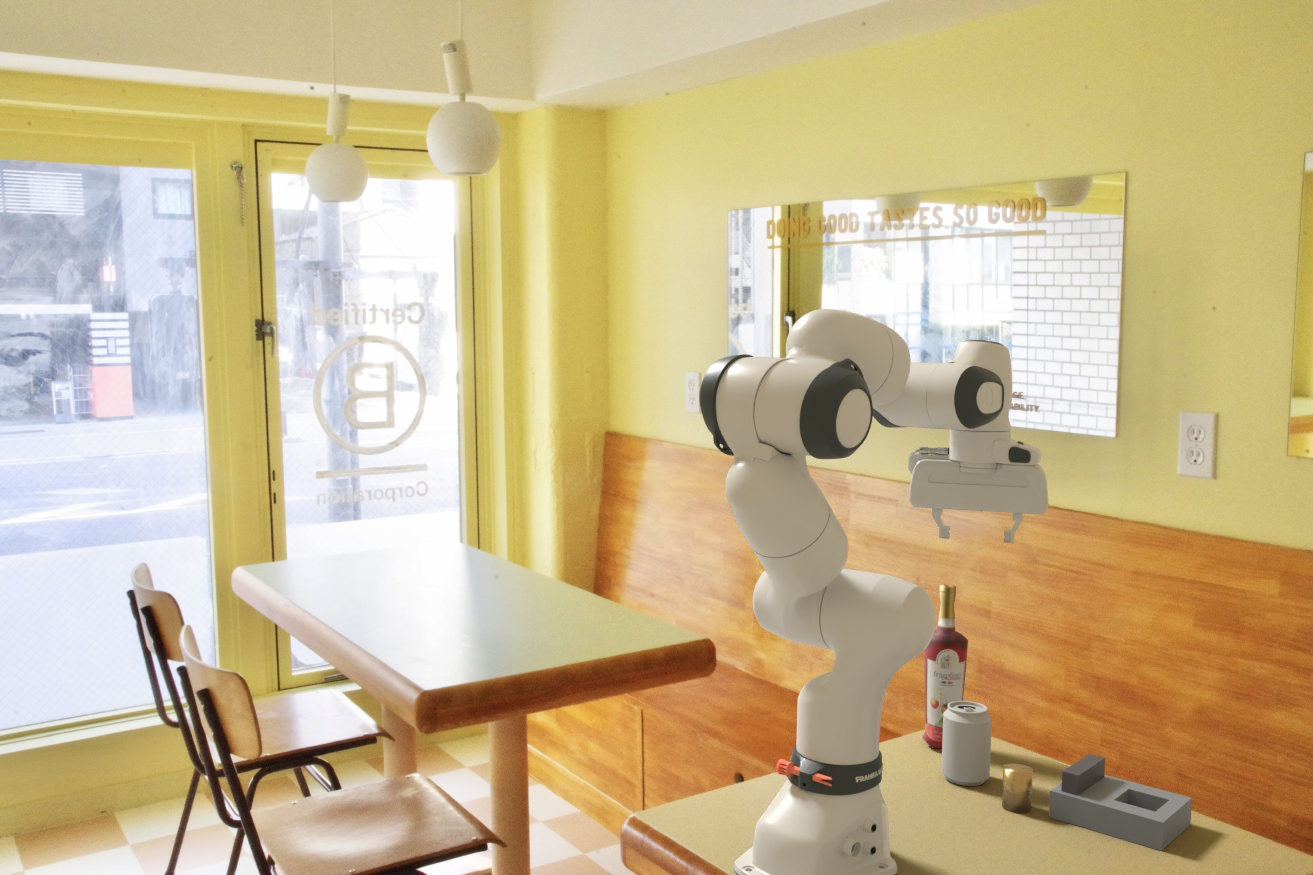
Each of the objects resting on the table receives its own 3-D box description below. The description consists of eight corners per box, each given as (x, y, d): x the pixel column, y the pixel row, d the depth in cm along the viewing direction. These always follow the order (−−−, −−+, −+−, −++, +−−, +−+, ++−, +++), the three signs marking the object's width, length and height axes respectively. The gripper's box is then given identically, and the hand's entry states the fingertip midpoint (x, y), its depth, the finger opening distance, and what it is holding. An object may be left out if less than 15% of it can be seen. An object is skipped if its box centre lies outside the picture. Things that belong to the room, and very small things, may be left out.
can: (984, 771, 185) (987, 699, 184) (993, 788, 177) (996, 713, 176) (937, 768, 185) (940, 697, 184) (944, 786, 178) (947, 711, 177)
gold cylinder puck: (1023, 815, 167) (1025, 776, 167) (996, 807, 170) (998, 768, 170) (1036, 807, 170) (1037, 768, 170) (1009, 799, 173) (1011, 761, 173)
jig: (1161, 850, 156) (1164, 801, 155) (1048, 816, 167) (1050, 770, 166) (1190, 824, 165) (1193, 777, 164) (1081, 793, 176) (1083, 749, 175)
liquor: (923, 752, 193) (928, 589, 191) (918, 737, 200) (923, 580, 198) (967, 754, 192) (973, 591, 190) (960, 739, 199) (966, 582, 197)
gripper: (906, 447, 171) (903, 538, 172) (1050, 453, 164) (1046, 548, 165) (911, 444, 177) (909, 532, 178) (1050, 450, 170) (1047, 541, 171)
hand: (976, 540), depth 171 cm, fingers open, 8 cm apart
